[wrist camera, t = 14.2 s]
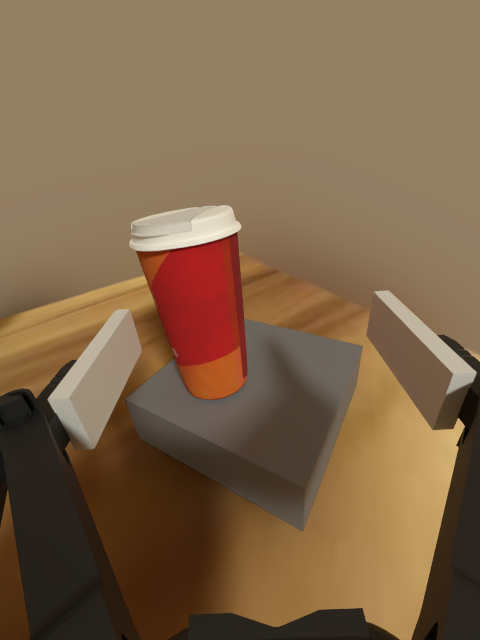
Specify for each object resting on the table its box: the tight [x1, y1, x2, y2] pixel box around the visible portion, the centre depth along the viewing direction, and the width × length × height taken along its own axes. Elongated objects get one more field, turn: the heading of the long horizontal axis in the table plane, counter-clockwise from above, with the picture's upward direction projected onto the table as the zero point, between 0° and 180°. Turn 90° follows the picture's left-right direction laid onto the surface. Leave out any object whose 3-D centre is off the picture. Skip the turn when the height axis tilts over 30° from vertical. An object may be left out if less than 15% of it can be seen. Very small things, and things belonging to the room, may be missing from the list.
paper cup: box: [129, 205, 248, 400], centre depth 23 cm, size 8×8×14 cm
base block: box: [125, 319, 363, 531], centre depth 28 cm, size 16×16×5 cm
